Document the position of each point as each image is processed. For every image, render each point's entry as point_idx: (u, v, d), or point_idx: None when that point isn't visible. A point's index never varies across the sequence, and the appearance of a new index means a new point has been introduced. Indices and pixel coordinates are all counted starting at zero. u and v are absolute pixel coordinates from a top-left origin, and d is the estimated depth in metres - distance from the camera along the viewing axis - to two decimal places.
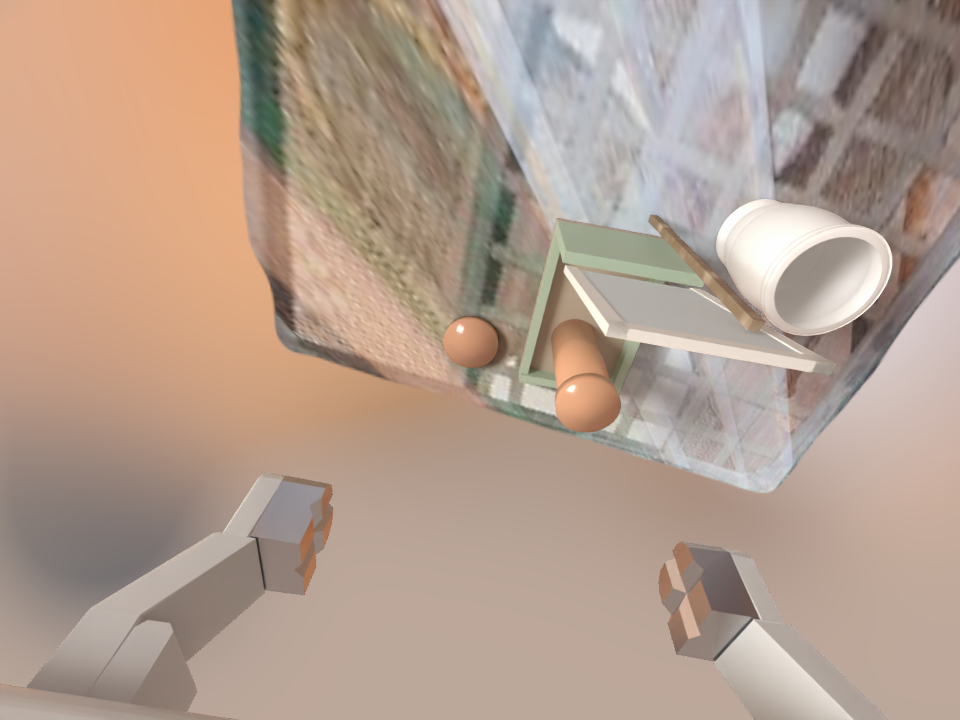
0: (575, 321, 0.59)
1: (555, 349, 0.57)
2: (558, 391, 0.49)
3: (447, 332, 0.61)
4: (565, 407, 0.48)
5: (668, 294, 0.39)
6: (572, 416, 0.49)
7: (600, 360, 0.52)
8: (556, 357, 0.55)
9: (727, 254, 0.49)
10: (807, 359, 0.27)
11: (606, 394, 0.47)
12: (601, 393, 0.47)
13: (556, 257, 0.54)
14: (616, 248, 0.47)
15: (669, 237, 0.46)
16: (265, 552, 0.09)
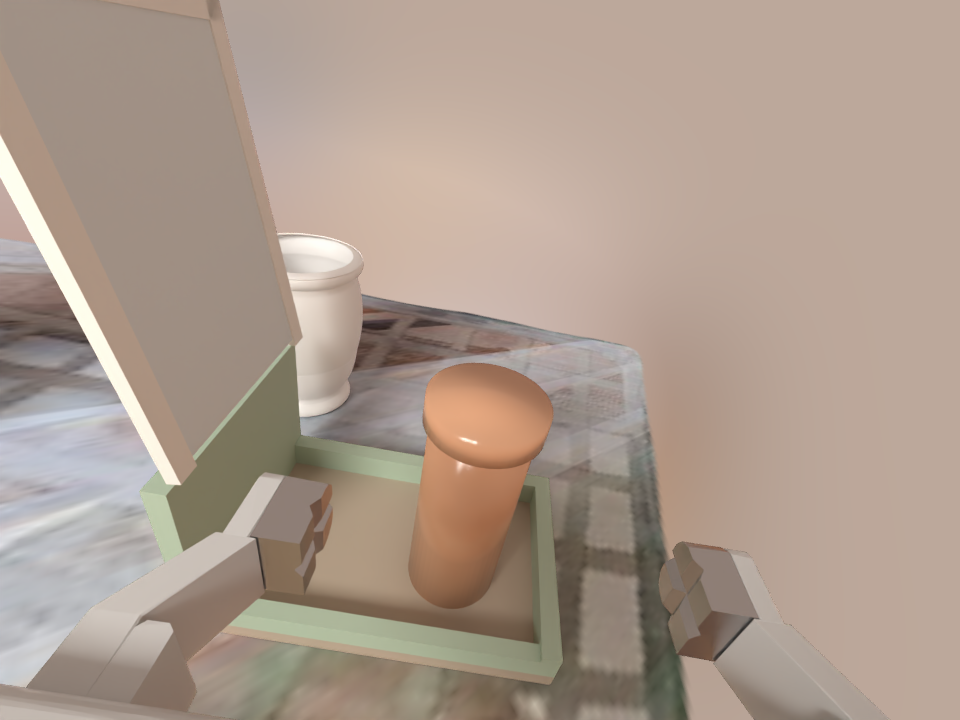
0: (409, 560, 0.31)
1: (446, 563, 0.27)
2: (468, 456, 0.22)
3: None
4: (498, 430, 0.22)
5: None
6: (519, 420, 0.23)
7: None
8: (451, 544, 0.26)
9: (299, 379, 0.40)
10: None
11: (454, 377, 0.25)
12: (452, 383, 0.24)
13: (255, 602, 0.26)
14: None
15: None
16: (265, 552, 0.09)
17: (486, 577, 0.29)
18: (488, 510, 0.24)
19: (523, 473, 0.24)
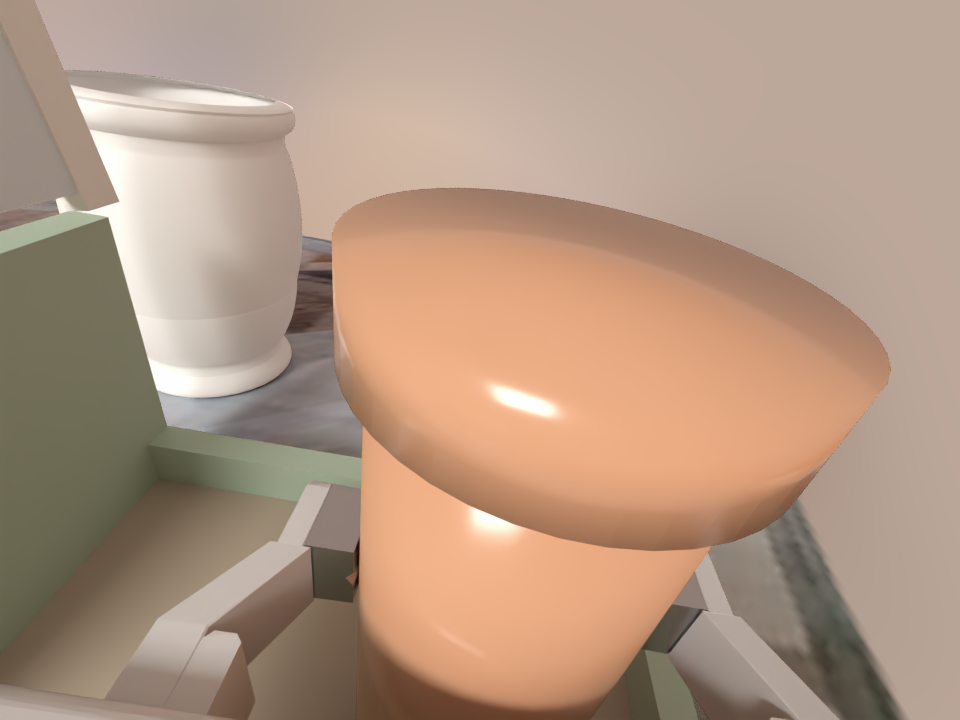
0: None
1: None
2: (543, 490, 0.04)
3: None
4: (692, 350, 0.04)
5: None
6: (746, 317, 0.05)
7: None
8: None
9: (179, 326, 0.22)
10: None
11: (451, 205, 0.07)
12: (446, 214, 0.07)
13: None
14: None
15: None
16: (318, 561, 0.09)
17: None
18: (591, 673, 0.07)
19: None
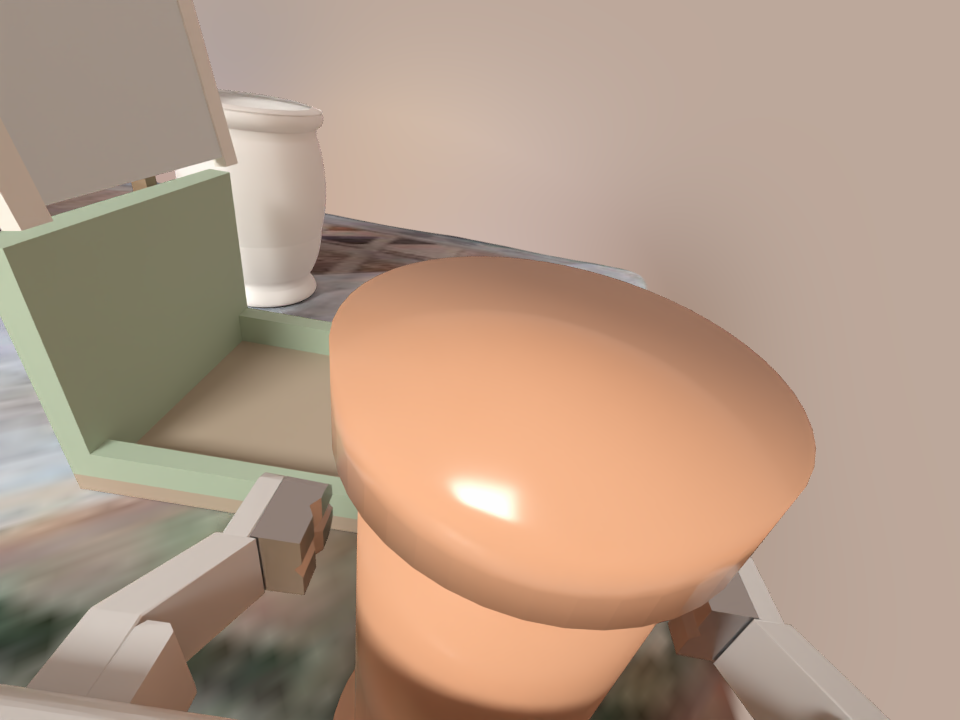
0: None
1: None
2: (508, 583, 0.05)
3: None
4: (637, 457, 0.05)
5: None
6: (694, 411, 0.06)
7: None
8: None
9: (249, 252, 0.34)
10: None
11: (438, 283, 0.08)
12: (433, 296, 0.07)
13: (162, 452, 0.21)
14: None
15: None
16: (265, 552, 0.09)
17: None
18: (565, 713, 0.07)
19: None
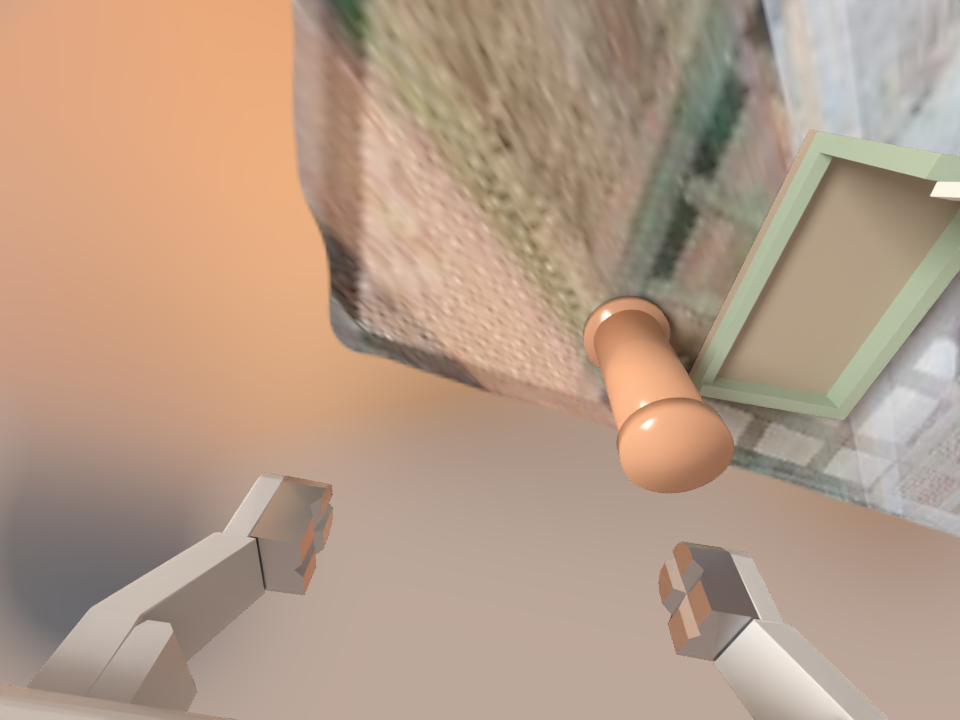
0: (632, 313, 0.39)
1: (605, 356, 0.37)
2: (624, 428, 0.29)
3: (594, 321, 0.40)
4: (637, 456, 0.29)
5: None
6: (648, 470, 0.29)
7: (685, 373, 0.32)
8: (609, 369, 0.35)
9: None
10: None
11: (711, 434, 0.27)
12: (702, 432, 0.27)
13: (809, 194, 0.33)
14: None
15: None
16: (265, 552, 0.09)
17: None
18: (613, 410, 0.33)
19: None
